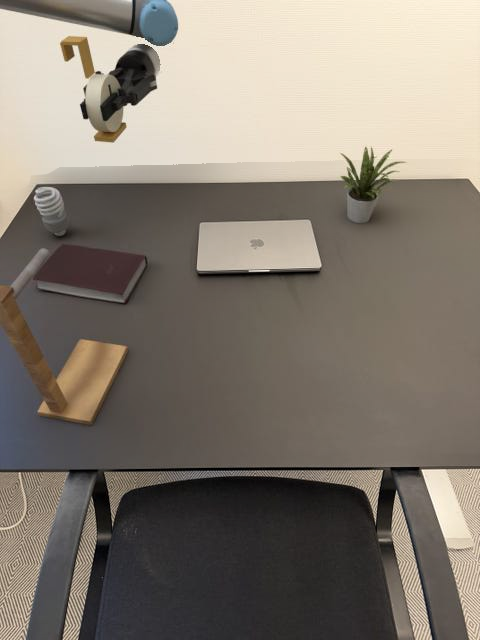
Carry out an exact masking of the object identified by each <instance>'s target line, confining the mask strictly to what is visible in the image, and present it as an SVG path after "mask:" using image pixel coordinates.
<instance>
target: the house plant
mask: <svg viewBox="0 0 480 640" xmlns="http://www.w3.org/2000/svg"><path fill="white" fill-rule="evenodd" d="M392 152H393V149H390V150H389V151H387V152H386V153H384V155H383V156H382V157H381V158H380V160H379V161H378V162H377V164H376V165H374V164H375V159H376V158H378V155H376V156H375V154H374V149H373V146H370V155H369V148H368V147H367V146H365V147H364V149H363V153H362V161H361V167H360V173H359V175H358V172H357V170H356V167H355V165H354V163H353V161H352V160H351V159H350V158H349V157H347V155H345V154H344V153H341V152H339V154H340V155H341V156H342V157H343V158H344V159H345V160H346V162H347V164H348V166H349V167H348V166H346V170H347V175H341V176H340V178H341V179H342V180H343V181H344V182H346V183H347V184H346V185H345V186H344V187H343V189H347V192H346V193H347V194H346V207H347V209H346V212H347V213H346V216H347V219H348V220H349V221H350V222H354V223H355V224H364V223H367V222H369V221H370V220H371V216H372V215H373V212H374V209H375V207H376V205H377V202H378V200H379V198H380V194H381V193H382V189H381V188H382V187H384V186H385V185H387V184H389V183H393V182H400V180H399V179H390V178H389V176H388V175H391V174H393V173H400V171H399V170H390V171H388V172H386V173H384V172H385V171H386V170H388V169H389V168H391V167H394V166H395V165H398V164H405V163H407V161H402V160H401V161H392V162H391V163H389V164H387V165H386V166H384V167H383V168H382V166H383V165H384V164H385V162H386V161H387V159H388V158H389V157H390V154H391V153H392ZM381 168H382V169H381ZM380 169H381V170H380ZM379 176H381V177H380V178H379V179H378V177H379ZM376 179H377V180H376ZM382 182H383V183H382ZM380 183H381V184H380ZM378 184H380V185H379V186H377V185H378ZM375 186H377V187H376V188H374V187H375Z"/></svg>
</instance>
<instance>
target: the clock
mask: <svg viewBox="0 0 480 640" xmlns="http://www.w3.org/2000/svg"><path fill="white" fill-rule="evenodd" d="M59 46H60V49H61V52H62V57H63V60H64V62H69V61H71V60H72V59H74V58H75V57H76V55H75V51H74V47H73V46H75V47H76V46H77V50H78V53H79V57H80V61H81V65H82V69H83V73H84V78H85V79H88V81H87V84H86V85H87V88H86V98H85V97H84V99H86V110H87V114H88V120H89V123H90V124H91V127H92V128H93V129H94V130H96V131H97V132H96V133H95V134H94V136H93V138H94V142H102V143H115V142H116V141H117V140H118V139H119V137H120V136H121V135H122V133H124V131H126V129H127V122H124V121H123V119H124V106H123V107H122V108H121V109H120V110H118V111H116V112H115V113H114V114H113V115H112V116H111V117H110V118H109V119H108V121H103V118H102V113H101V109H100V105H101V104H102V103H103V102H104V101H105V100H106V99H107V98H108V97H109V96H110V95H111V94H112V93H113V92H116V93H118V89H119V88H121V87H120V85H119V82H118V81H117V79H116V78H115V77H114V76H112V75H108V74H104V75H101V74H95V72H96V71H95V66H94V62H93V57H92V53H91V49H90V48H91V47H90V44H89V41H88V37H87V36H77V35H76V36H75V35H72V36H71V35H68V36H66V37H65V38H64V39H62V40H61V41H60V42H59ZM118 96H119V93H118Z"/></svg>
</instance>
